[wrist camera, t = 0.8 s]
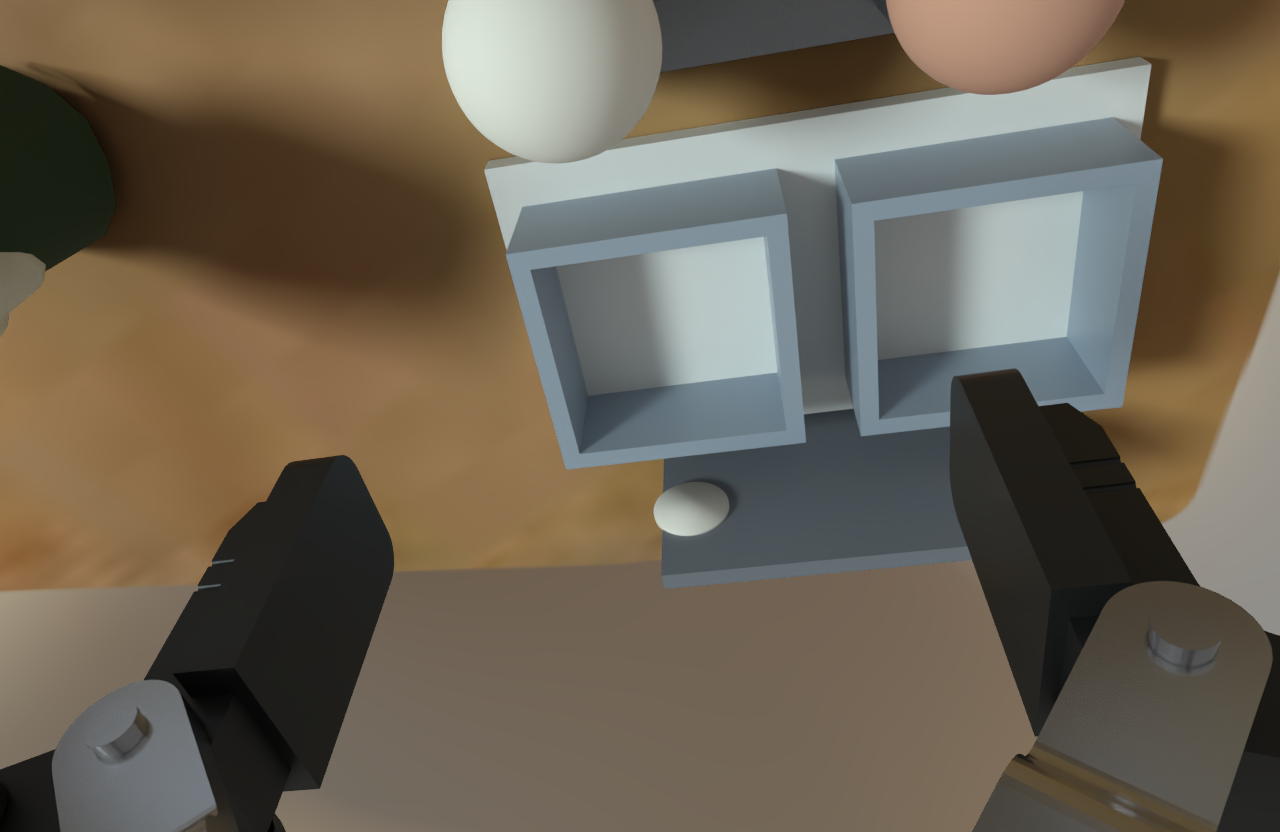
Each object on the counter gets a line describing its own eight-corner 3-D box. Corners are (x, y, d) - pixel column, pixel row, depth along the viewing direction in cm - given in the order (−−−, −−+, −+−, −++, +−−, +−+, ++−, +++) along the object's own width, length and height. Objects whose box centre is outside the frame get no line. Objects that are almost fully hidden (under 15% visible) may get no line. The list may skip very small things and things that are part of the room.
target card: (656, 424, 35) (651, 573, 29) (991, 385, 34) (1065, 533, 27) (659, 439, 36) (655, 589, 29) (990, 401, 34) (1062, 551, 28)
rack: (488, 160, 29) (462, 214, 26) (1140, 56, 27) (1209, 100, 23) (562, 430, 36) (550, 502, 32) (1096, 366, 33) (1145, 438, 30)
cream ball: (439, -67, 22) (385, -28, 18) (646, -107, 21) (637, -76, 17) (494, 137, 25) (458, 211, 21) (677, 107, 24) (676, 178, 20)
